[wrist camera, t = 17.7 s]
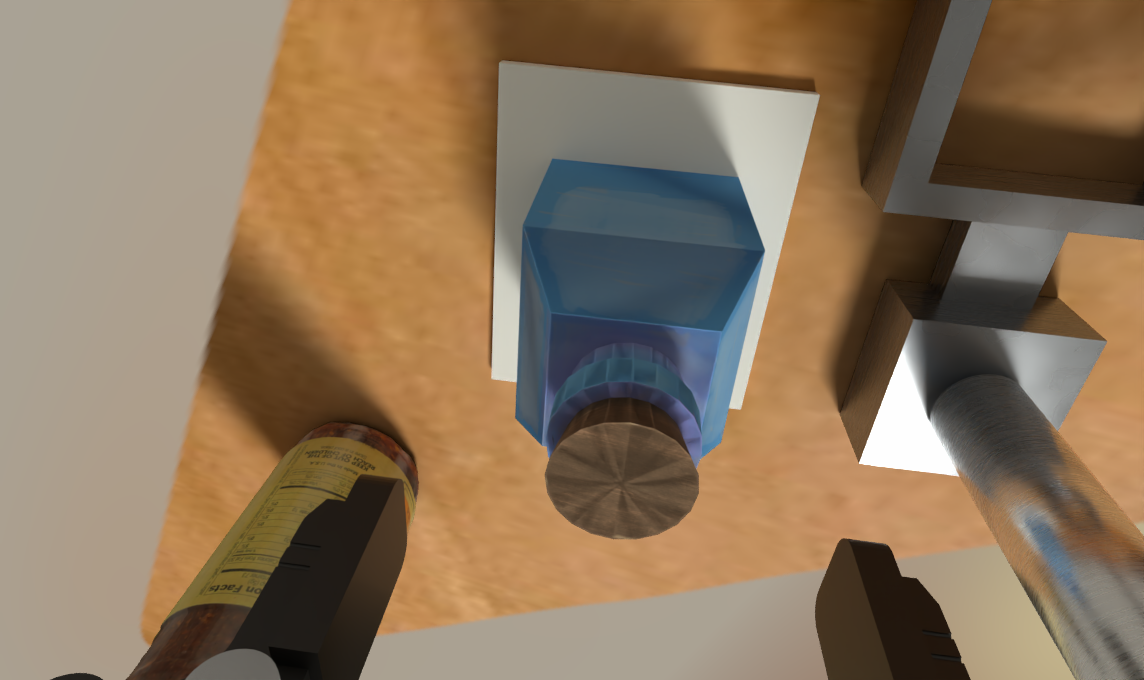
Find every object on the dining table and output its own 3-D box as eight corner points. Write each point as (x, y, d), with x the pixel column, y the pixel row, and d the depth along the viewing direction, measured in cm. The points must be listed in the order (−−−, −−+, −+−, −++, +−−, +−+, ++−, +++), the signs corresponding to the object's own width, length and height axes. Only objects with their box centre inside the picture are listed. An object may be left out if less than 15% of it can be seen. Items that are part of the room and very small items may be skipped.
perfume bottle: (738, 177, 23) (811, 376, 12) (706, 338, 26) (742, 603, 16) (552, 158, 23) (472, 337, 13) (543, 320, 26) (472, 569, 16)
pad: (502, 60, 22) (499, 62, 22) (816, 92, 22) (819, 95, 21) (493, 372, 28) (491, 378, 28) (739, 402, 28) (740, 409, 27)
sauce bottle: (391, 537, 34) (124, 1152, 17) (274, 476, 32) (-146, 1074, 15) (454, 454, 31) (207, 1103, 14) (327, 383, 29) (-123, 1001, 12)
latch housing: (968, -169, 18) (1020, -187, 16) (1349, -137, 18) (1469, -150, 15) (794, 408, 28) (809, 457, 25) (1039, 438, 27) (1079, 491, 25)
